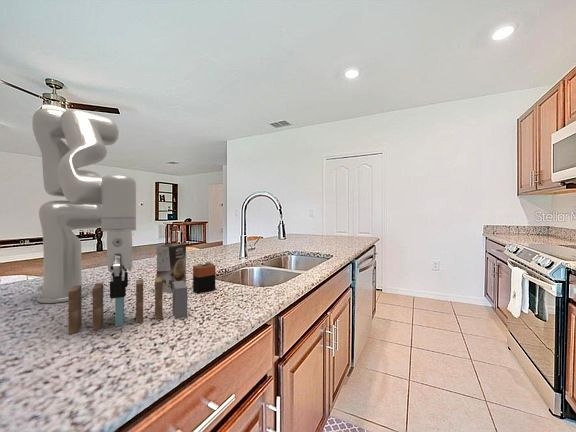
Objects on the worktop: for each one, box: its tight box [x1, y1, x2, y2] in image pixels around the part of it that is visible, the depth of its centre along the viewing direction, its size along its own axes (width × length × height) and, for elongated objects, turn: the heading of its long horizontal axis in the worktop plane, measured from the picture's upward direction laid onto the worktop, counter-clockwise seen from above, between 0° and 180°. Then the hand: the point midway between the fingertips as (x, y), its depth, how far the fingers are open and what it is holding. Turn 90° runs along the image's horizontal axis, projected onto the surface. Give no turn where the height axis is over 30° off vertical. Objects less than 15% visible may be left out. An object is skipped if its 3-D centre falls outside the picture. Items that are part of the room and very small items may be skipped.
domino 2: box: [91, 282, 104, 331], centre depth 67 cm, size 2×5×10 cm, turn 28°
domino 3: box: [114, 297, 125, 328], centre depth 69 cm, size 2×5×10 cm, turn 28°
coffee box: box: [156, 243, 187, 293], centre depth 100 cm, size 9×6×16 cm
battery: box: [192, 261, 216, 294], centre depth 97 cm, size 4×7×10 cm, turn 137°
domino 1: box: [67, 285, 83, 335], centre depth 65 cm, size 2×5×10 cm, turn 28°
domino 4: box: [135, 278, 144, 324], centre depth 71 cm, size 2×5×10 cm, turn 28°
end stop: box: [171, 281, 188, 320], centre depth 76 cm, size 3×8×8 cm, turn 28°
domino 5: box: [154, 277, 164, 321], centre depth 73 cm, size 2×5×10 cm, turn 28°
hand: (119, 292), depth 69 cm, fingers open, 9 cm apart
